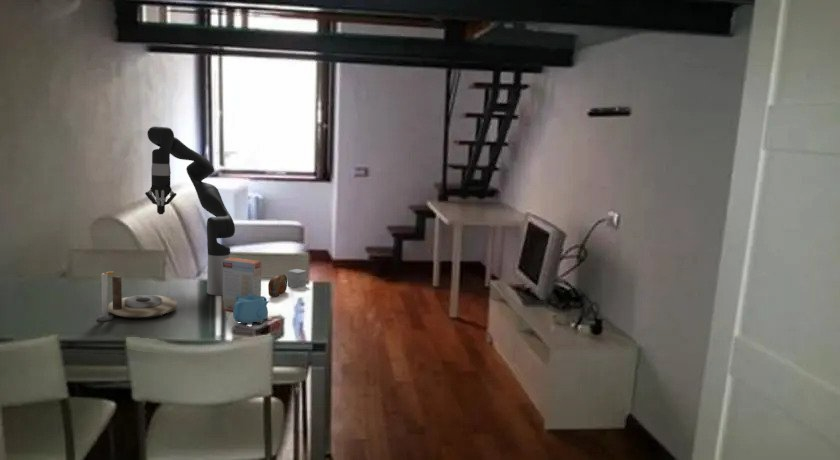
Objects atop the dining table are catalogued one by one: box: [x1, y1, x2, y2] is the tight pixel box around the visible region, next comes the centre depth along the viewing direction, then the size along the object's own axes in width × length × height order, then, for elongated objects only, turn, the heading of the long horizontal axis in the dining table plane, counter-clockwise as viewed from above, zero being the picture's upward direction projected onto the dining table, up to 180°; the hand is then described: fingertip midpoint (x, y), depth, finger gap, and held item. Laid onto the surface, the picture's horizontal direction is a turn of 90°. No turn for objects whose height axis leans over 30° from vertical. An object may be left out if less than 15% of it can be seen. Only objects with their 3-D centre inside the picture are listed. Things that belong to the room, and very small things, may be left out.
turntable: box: [108, 275, 178, 317], centre depth 243 cm, size 24×24×14 cm
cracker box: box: [222, 256, 262, 313], centre depth 251 cm, size 14×6×21 cm, turn 71°
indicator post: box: [96, 270, 115, 322], centre depth 232 cm, size 6×5×17 cm
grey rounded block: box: [287, 268, 307, 289], centre depth 295 cm, size 6×6×7 cm
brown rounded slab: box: [267, 274, 288, 298], centre depth 279 cm, size 15×3×8 cm, turn 168°
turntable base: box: [119, 313, 167, 320], centre depth 244 cm, size 18×18×2 cm
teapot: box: [232, 294, 270, 324], centre depth 239 cm, size 13×14×11 cm
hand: (161, 214), depth 276 cm, fingers closed
